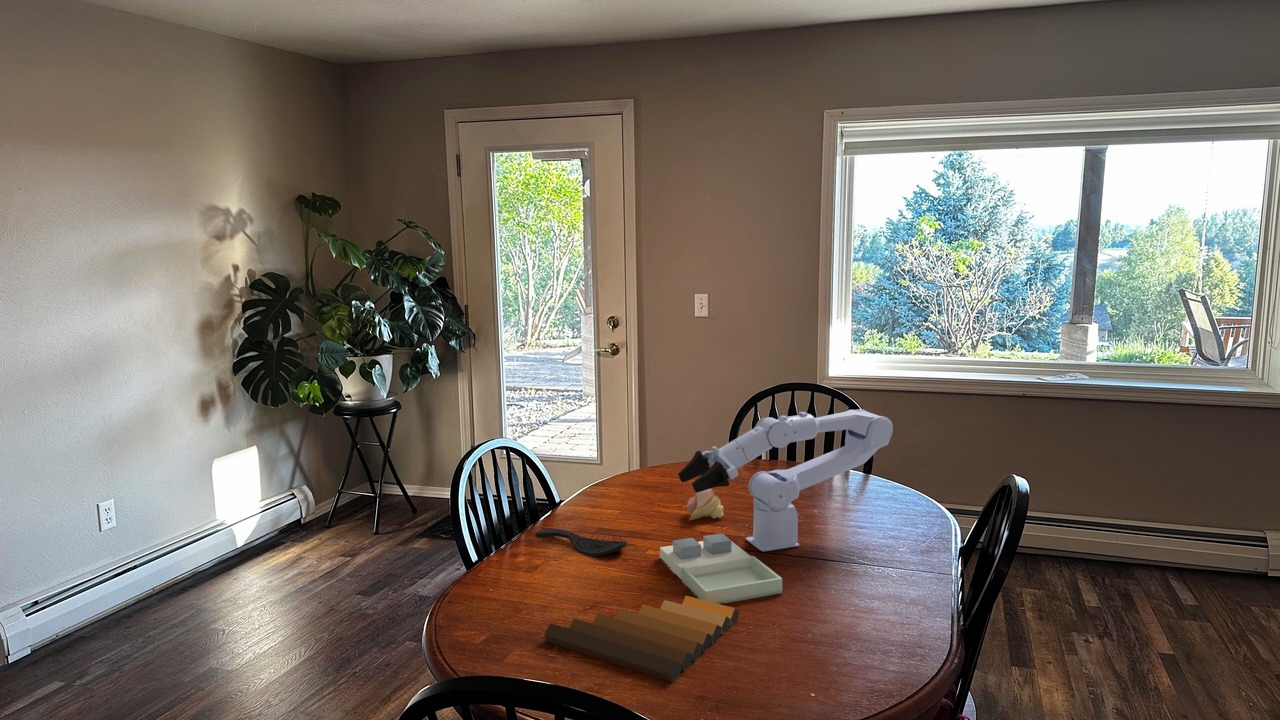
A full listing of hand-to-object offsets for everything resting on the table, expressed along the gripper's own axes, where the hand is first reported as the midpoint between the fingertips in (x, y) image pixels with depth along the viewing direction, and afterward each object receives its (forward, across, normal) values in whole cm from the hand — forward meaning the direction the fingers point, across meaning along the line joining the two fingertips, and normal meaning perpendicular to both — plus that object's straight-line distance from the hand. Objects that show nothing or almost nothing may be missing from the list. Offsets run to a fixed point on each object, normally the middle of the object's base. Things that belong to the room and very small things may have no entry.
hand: (686, 483), depth 171 cm
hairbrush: (+25, -15, +7) cm, 30 cm away
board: (+5, +5, +16) cm, 17 cm away
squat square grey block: (+1, +4, +15) cm, 16 cm away
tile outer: (+7, +4, +12) cm, 15 cm away
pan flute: (+25, +28, +8) cm, 38 cm away
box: (+5, +17, +16) cm, 24 cm away
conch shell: (-5, -21, +21) cm, 30 cm away
